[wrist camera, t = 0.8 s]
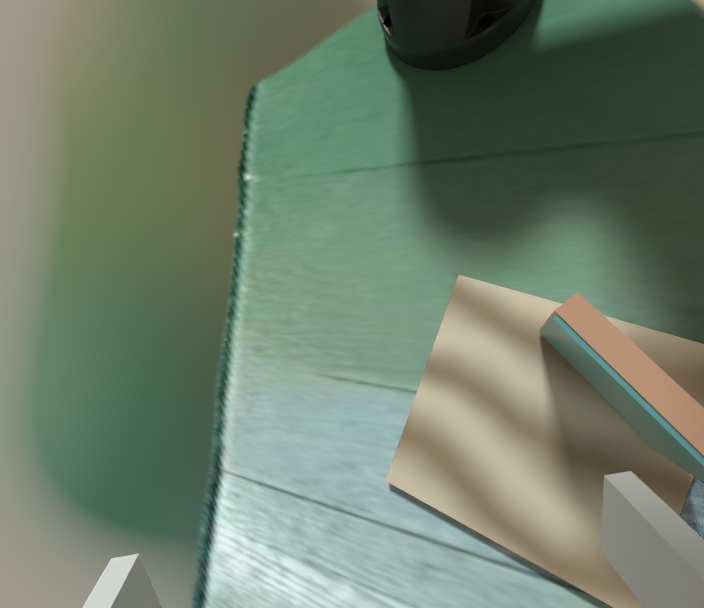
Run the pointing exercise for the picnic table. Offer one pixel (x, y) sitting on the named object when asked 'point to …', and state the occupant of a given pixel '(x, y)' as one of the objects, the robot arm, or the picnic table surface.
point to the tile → (629, 382)
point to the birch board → (531, 435)
